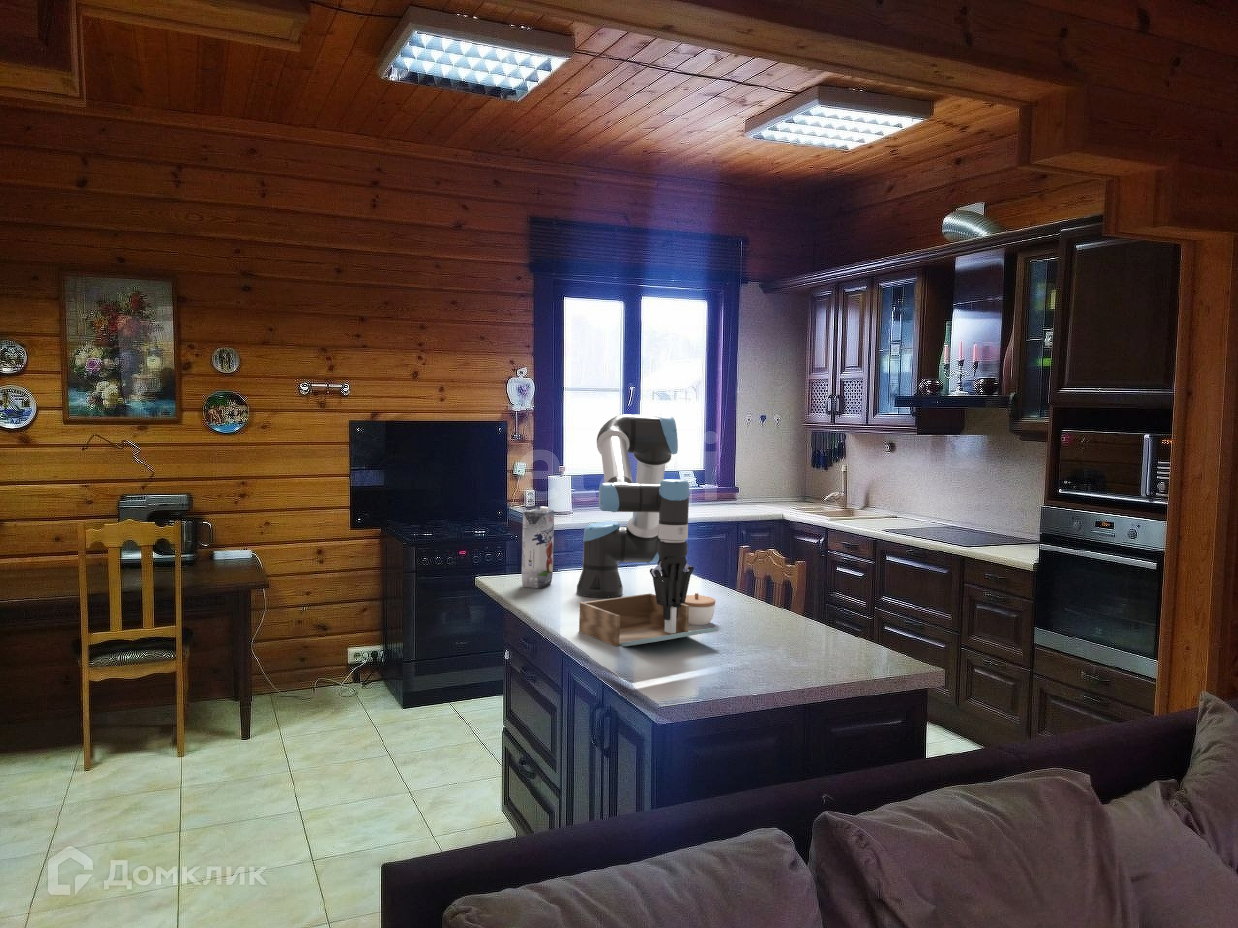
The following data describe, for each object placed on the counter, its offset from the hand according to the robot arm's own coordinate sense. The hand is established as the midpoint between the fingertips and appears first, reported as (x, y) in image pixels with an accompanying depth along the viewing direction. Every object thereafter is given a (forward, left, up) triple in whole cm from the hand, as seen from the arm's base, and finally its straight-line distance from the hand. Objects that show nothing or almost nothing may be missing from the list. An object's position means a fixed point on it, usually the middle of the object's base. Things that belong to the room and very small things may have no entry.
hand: (670, 631), depth 229 cm
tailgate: (-7, 0, -4) cm, 8 cm away
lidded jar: (-16, +23, -5) cm, 29 cm away
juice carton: (-84, +11, -5) cm, 85 cm away
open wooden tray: (-15, 0, -5) cm, 16 cm away
